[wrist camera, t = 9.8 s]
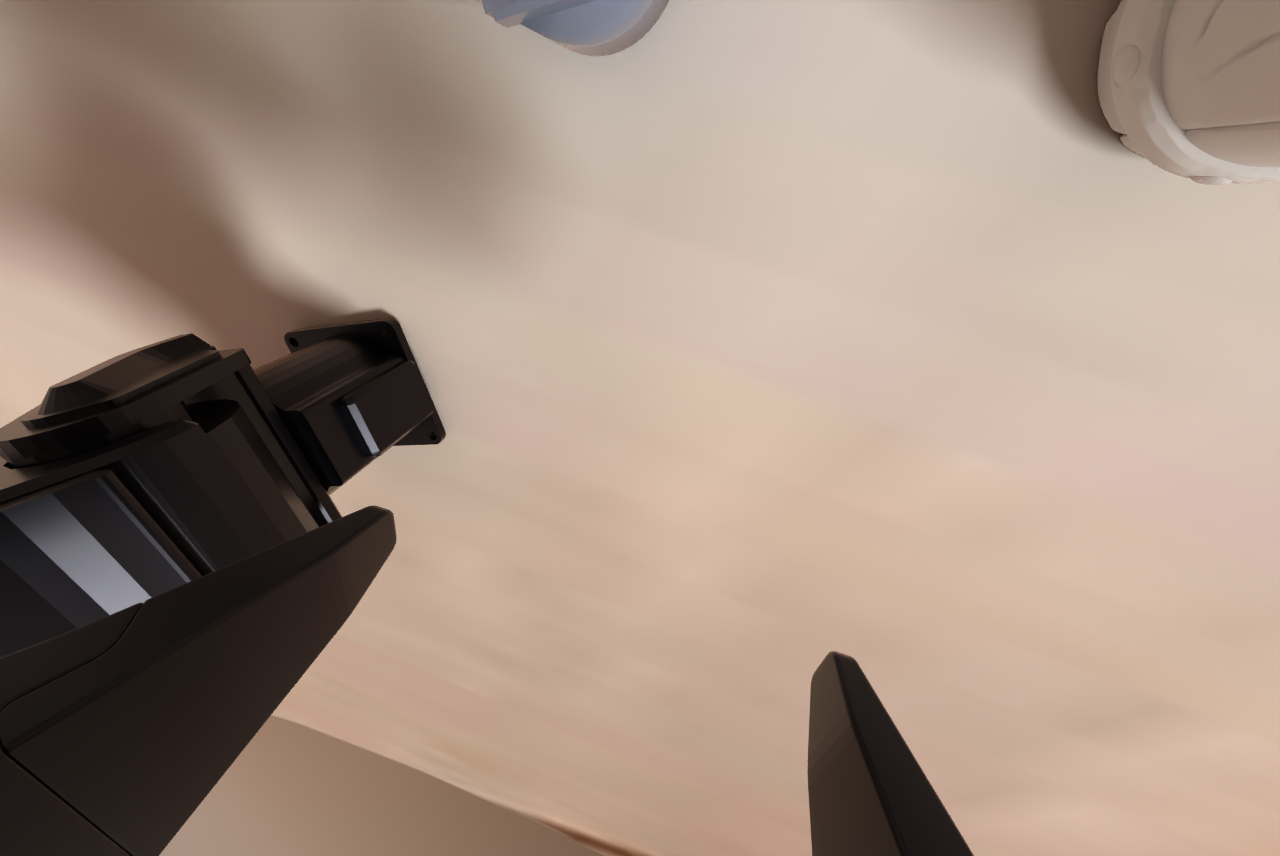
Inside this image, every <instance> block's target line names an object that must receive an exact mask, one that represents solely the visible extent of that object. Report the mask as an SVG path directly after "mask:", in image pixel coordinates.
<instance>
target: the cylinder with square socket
mask: <svg viewBox="0 0 1280 856" xmlns="http://www.w3.org/2000/svg"><path fill="white" fill-rule="evenodd" d="M668 1H669V0H482V2H483V6H484V10H485V13H486V14H488V15H490V16H492V17H494V19H495V22H498V23H500V24H502V25H504V26H506V27H511V26H514V25H518V24H522V25H524V26H526V27H528V28H530V29H532V30H533V31H535V32H537V33H539V34H541V35H543V36H545V37H547V38H549V39H551V40H552V41H554V42H556V43H558V44H560V45H562V46H564V47H566V48H568V49H569V50H571V51H574V52H577V53H580V54H584V55H590V56H604V55H609V54H614V53H616V52H619V51H622V50H624V49H626V48H628V47H629V46H631V45H633V44H634V43H635V42H637V41H638V40H639V39H641V38H642V37H643V36H644V35H645V34H646V33H647V32H648V31H649V30H650V29H651V28H652V26H653V25H654V24H655V23H656V21H657V20H658V19H659V17H660V16H661V14H662V12H663V11H664V9H665V7H666V6H667V3H668Z"/></svg>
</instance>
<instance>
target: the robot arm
mask: <svg viewBox="0 0 1280 856" xmlns="http://www.w3.org/2000/svg"><path fill="white" fill-rule="evenodd" d="M387 327H388V328H389V329H390V331H391V333H390V332H389V331H388V330H387ZM284 337H285V342H286V344H287V346H288V348H289V350H290V351H291V354H289V355H287V356H285V357H282V358H280V359H278V360H275V361H273V362H271V363H268V364H266V365H264V366H261V367H259V368H257V369H255V370H253V369H252V368H251V366H250V363H252V362H251V361H250V359H249V357H248V356H247V354H246V352H245V351H244V349H243V348H240V349H232V350H223V351H218V350H216V348H215V347H214V346H210V345H209V344H207V343H206V342H204V341H203V340H201V339H200V338H198V337H197V336H195V335H194V334H185V335H179V336H176V337H173V338H169V339H166V340H163V341H160V342H157V343H154V344H151V345H148V346H144V347H141V348H138V349H135V350H133V351H130V352H127V353H124V354H122V355H119V356H116V357H114V358H112V359H109V360H107V361H105V362H103V363H101V364H98V365H96V366H94V367H92V368H90V369H88V370H86V371H83V372H81V373H79V374H77V375H75V376H73V377H70V378H68V379H66V380H64V381H62V382H60V383H58V384H55V385H53V386H51V387H49V389H48V391H47V393H46V395H45V397H44V399H43V401H42V403H41V404H40V405H39V406H37V407H35V408H34V409H32V410H30V411H29V412H27V413H25V414H24V415H22V416H20V417H19V418H17V419H15V420H14V421H12V422H10V423H9V424H7V425H5V426H4V427H2V428H0V856H159V855H160V853H161V852H162V851H163V850H164V848H165V847H166V846H167V845H168V843H169V842H170V841H171V840H172V838H173V837H174V836H175V835H176V833H177V832H178V831H179V830H180V828H181V827H182V826H183V825H184V823H185V822H186V821H187V820H188V818H189V817H190V816H191V815H192V813H193V812H194V811H195V810H196V808H197V807H198V806H199V805H200V803H201V802H202V801H203V800H204V798H205V797H206V796H207V795H208V793H209V792H210V791H211V790H212V788H213V787H214V786H215V784H216V783H217V782H218V780H219V779H220V778H221V777H222V776H223V774H224V773H225V772H226V771H227V769H228V768H229V767H230V766H231V764H232V763H233V762H234V761H235V759H236V758H237V757H238V756H239V754H240V753H241V752H242V751H243V749H244V748H245V747H246V746H247V744H248V743H249V742H250V741H251V739H252V738H253V737H254V736H255V734H256V733H257V732H258V730H259V729H260V728H261V727H262V725H263V724H264V723H265V722H266V721H267V719H268V718H269V717H270V716H271V714H272V713H273V712H274V710H275V709H276V708H277V707H278V705H279V704H280V703H281V702H282V700H283V699H284V698H285V697H286V695H287V694H288V693H289V692H290V690H291V689H292V688H293V687H294V685H295V684H296V683H297V682H298V680H299V679H300V678H301V677H302V675H303V674H304V673H305V672H306V670H307V669H308V668H309V667H310V665H311V664H312V663H313V662H314V660H315V659H316V658H317V657H318V655H319V654H320V653H321V652H322V650H323V649H324V648H325V647H326V645H327V644H328V643H329V642H330V640H331V639H332V638H333V636H334V635H335V634H336V633H337V631H338V630H339V629H340V628H341V626H342V625H343V624H344V623H345V621H346V620H347V619H348V617H349V616H350V615H351V613H352V612H353V610H354V609H355V607H356V606H357V604H358V603H359V601H360V600H361V598H362V597H363V595H364V594H365V592H366V590H367V589H368V587H369V586H370V584H371V583H372V581H373V580H374V578H375V577H376V575H377V574H378V572H379V570H380V569H381V567H382V566H383V564H384V563H385V561H386V560H387V558H388V557H389V555H390V553H391V552H392V550H393V549H394V546H395V544H396V530H395V522H394V516H393V513H392V512H391V511H390V510H388V509H384V508H381V507H378V506H368V507H366V508H363V509H361V510H359V511H356V512H354V513H351V514H349V515H347V516H344V517H342V516H341V514H340V513H339V511H338V509H337V508H336V506H335V504H334V503H333V501H332V499H331V498H330V496H329V495H330V494H332V493H333V492H334V491H335V490H337V489H338V488H339V487H340V486H342V485H343V484H344V483H346V482H347V481H348V480H349V479H351V478H352V477H353V476H354V475H356V474H357V473H358V472H359V471H361V470H362V469H363V468H364V467H366V466H367V465H368V464H369V463H371V462H372V461H373V460H374V459H376V458H377V457H378V456H380V455H382V454H383V453H384V452H385V451H387V450H388V449H389V448H390V447H392V446H398V445H428V444H439V443H440V442H441V441H442V440H443V439H444V438H445V436H446V434H445V430H444V428H443V426H442V423H441V421H440V419H439V416H438V414H437V411H436V409H435V407H434V404H433V402H432V400H431V397H430V395H429V393H428V390H427V388H426V386H425V383H424V381H423V379H422V376H421V374H420V371H419V369H418V367H417V364H416V362H415V360H414V357H413V355H412V353H411V350H410V348H409V346H408V343H407V341H406V339H405V336H404V334H403V331H402V329H401V327H400V325H399V324H398V323H397V322H396V321H395V320H393V319H390V318H385V319H377V320H369V321H361V322H353V323H345V324H337V325H329V326H321V327H313V328H305V329H297V330H293V331H291V332H288V333H286V334H285V336H284ZM434 433H435V434H436V435H435V434H434ZM808 791H809V807H810V823H811V839H812V856H974V855H973V853H972V852H971V850H970V848H969V847H968V845H967V843H966V842H965V840H964V838H963V837H962V835H961V833H960V832H959V830H958V829H957V827H956V825H955V824H954V822H953V820H952V819H951V817H950V815H949V814H948V812H947V810H946V809H945V807H944V805H943V804H942V802H941V800H940V799H939V797H938V795H937V794H936V792H935V790H934V789H933V787H932V785H931V784H930V782H929V780H928V779H927V777H926V775H925V774H924V772H923V771H922V769H921V767H920V766H919V764H918V762H917V761H916V759H915V757H914V756H913V754H912V752H911V751H910V749H909V747H908V746H907V744H906V742H905V741H904V739H903V737H902V736H901V734H900V732H899V731H898V729H897V727H896V726H895V724H894V722H893V721H892V719H891V717H890V716H889V714H888V713H887V711H886V709H885V708H884V706H883V704H882V703H881V701H880V699H879V698H878V696H877V694H876V693H875V691H874V689H873V688H872V686H871V684H870V683H869V681H868V679H867V678H866V676H865V674H864V673H863V671H862V669H861V668H860V666H859V664H858V663H857V661H856V660H855V659H854V658H852V657H851V656H848V655H845V654H842V653H839V652H835V651H832V652H829V653H828V655H827V656H826V657H825V659H824V660H823V661H822V663H821V664H820V666H819V667H818V668H817V670H816V671H815V673H814V675H813V677H812V681H811V695H810V719H809V743H808Z"/></svg>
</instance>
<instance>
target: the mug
mask: <svg viewBox="0 0 1280 856" xmlns="http://www.w3.org/2000/svg"><path fill="white" fill-rule="evenodd" d="M1098 96H1099V101H1100V106H1101V109H1102V111H1103V113H1104V116H1105V118H1106V119H1107V121H1108V123H1109V125H1110V127H1111V129H1113V130H1114V131H1116V132H1118V133H1123V135H1122V136H1121V137H1120V140H1121V142H1122V143H1123V144H1124V145H1125V146H1126V147H1127V148H1128V149H1130V150H1131V151H1133V152H1134V153H1136V154H1138V155H1140V156H1142V157H1144V158H1147V159H1148V160H1149V161H1150V162H1152V163H1153V164H1155V165H1157V166H1158V167H1160V168H1162V169H1164V170H1166V171H1168V172H1171V173H1173V174H1176V175H1179V176H1182V177H1186V178H1191V179H1192V180H1193V181H1194V182H1197V183H1201V184H1209V185H1227V184H1229V183H1269V182H1278V181H1280V0H1122V1H1121V3H1120V4H1119V6H1118V9H1117V10H1116V12H1115V13H1114V14H1113V15H1112V16H1111V18H1110V19H1109V21H1108V22H1107V24H1106V27H1105V30H1104V34H1103V39H1102V45H1101V51H1100V58H1099V67H1098Z"/></svg>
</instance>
